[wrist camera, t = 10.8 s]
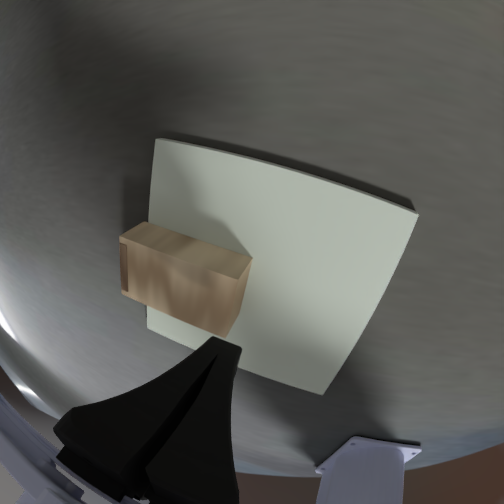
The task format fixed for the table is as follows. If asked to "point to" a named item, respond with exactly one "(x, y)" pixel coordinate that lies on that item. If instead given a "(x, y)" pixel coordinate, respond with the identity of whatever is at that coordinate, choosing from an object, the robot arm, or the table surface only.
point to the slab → (183, 277)
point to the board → (281, 256)
